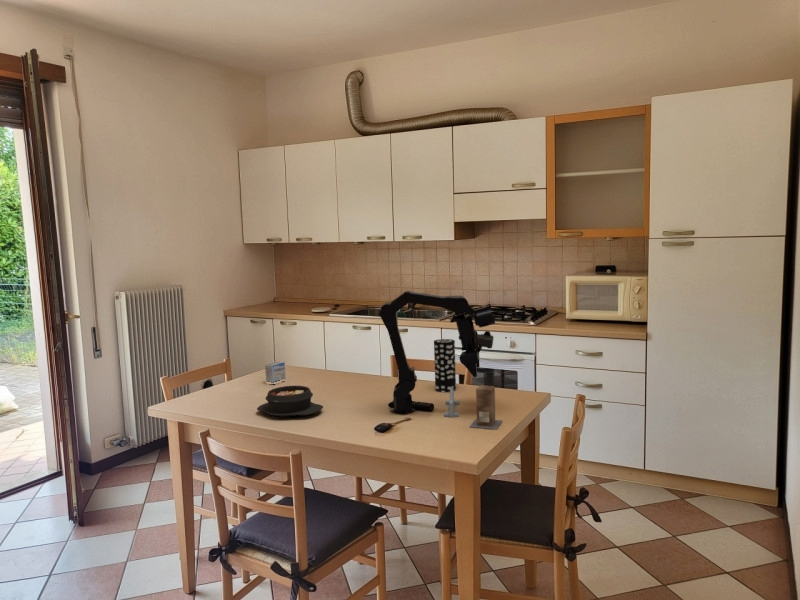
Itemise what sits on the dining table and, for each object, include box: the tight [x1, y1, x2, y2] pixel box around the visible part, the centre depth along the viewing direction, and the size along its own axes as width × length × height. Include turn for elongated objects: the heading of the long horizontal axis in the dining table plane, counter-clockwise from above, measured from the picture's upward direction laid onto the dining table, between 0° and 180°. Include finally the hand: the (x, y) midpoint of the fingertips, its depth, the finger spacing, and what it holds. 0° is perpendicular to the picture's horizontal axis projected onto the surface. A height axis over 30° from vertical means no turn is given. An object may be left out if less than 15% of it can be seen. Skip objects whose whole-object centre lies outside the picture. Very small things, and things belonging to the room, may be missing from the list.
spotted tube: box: [433, 338, 457, 393], centre depth 241 cm, size 8×8×20 cm
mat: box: [469, 417, 503, 430], centre depth 196 cm, size 9×9×1 cm
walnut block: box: [475, 384, 496, 426], centre depth 196 cm, size 5×5×12 cm
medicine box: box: [264, 361, 287, 383], centre depth 264 cm, size 8×4×9 cm, turn 147°
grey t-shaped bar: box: [443, 389, 460, 418], centre depth 214 cm, size 18×5×5 cm, turn 174°
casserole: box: [256, 385, 324, 417], centre depth 217 cm, size 25×19×8 cm
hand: (476, 372), depth 213 cm, fingers open, 9 cm apart
